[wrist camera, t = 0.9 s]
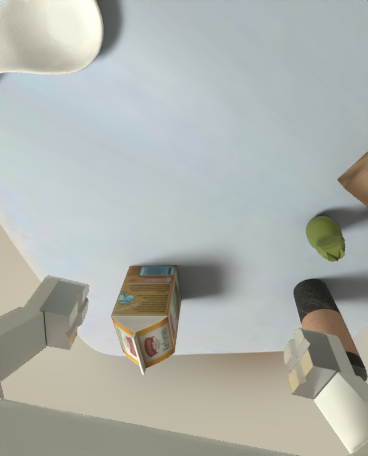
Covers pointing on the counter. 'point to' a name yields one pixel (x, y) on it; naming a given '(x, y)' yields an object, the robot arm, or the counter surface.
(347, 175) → the block
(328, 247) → the pear
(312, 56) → the counter surface
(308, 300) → the travel mug
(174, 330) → the milk carton
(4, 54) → the spoon rest
